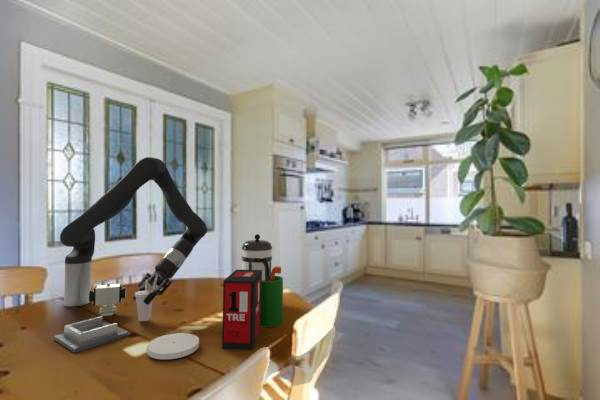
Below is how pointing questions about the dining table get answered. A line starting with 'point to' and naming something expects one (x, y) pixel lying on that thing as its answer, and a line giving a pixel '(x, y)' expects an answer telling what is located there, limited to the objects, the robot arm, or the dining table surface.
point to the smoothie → (143, 304)
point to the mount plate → (89, 334)
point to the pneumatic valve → (107, 297)
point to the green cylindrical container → (272, 299)
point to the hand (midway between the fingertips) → (140, 301)
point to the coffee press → (257, 256)
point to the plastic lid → (173, 346)
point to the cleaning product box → (242, 309)
